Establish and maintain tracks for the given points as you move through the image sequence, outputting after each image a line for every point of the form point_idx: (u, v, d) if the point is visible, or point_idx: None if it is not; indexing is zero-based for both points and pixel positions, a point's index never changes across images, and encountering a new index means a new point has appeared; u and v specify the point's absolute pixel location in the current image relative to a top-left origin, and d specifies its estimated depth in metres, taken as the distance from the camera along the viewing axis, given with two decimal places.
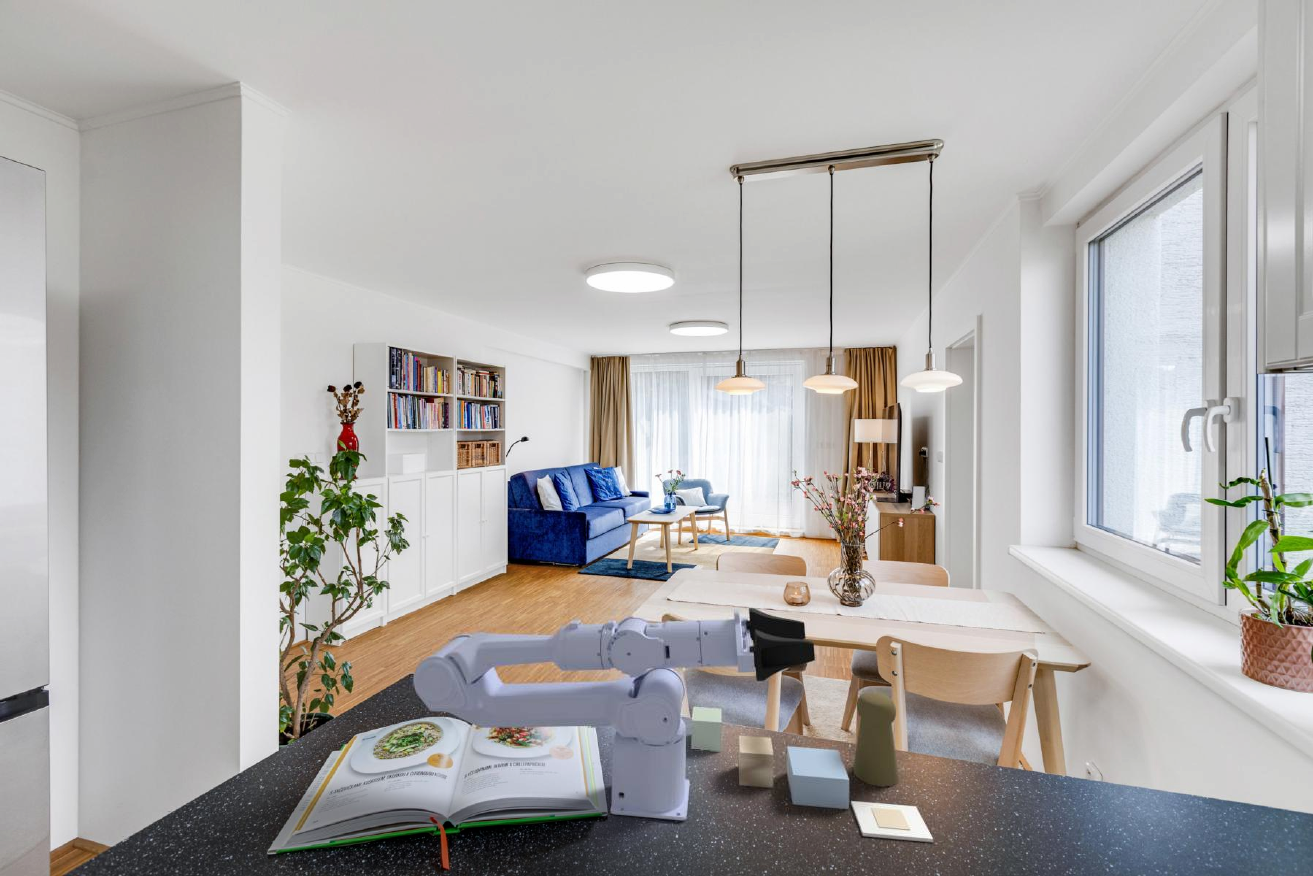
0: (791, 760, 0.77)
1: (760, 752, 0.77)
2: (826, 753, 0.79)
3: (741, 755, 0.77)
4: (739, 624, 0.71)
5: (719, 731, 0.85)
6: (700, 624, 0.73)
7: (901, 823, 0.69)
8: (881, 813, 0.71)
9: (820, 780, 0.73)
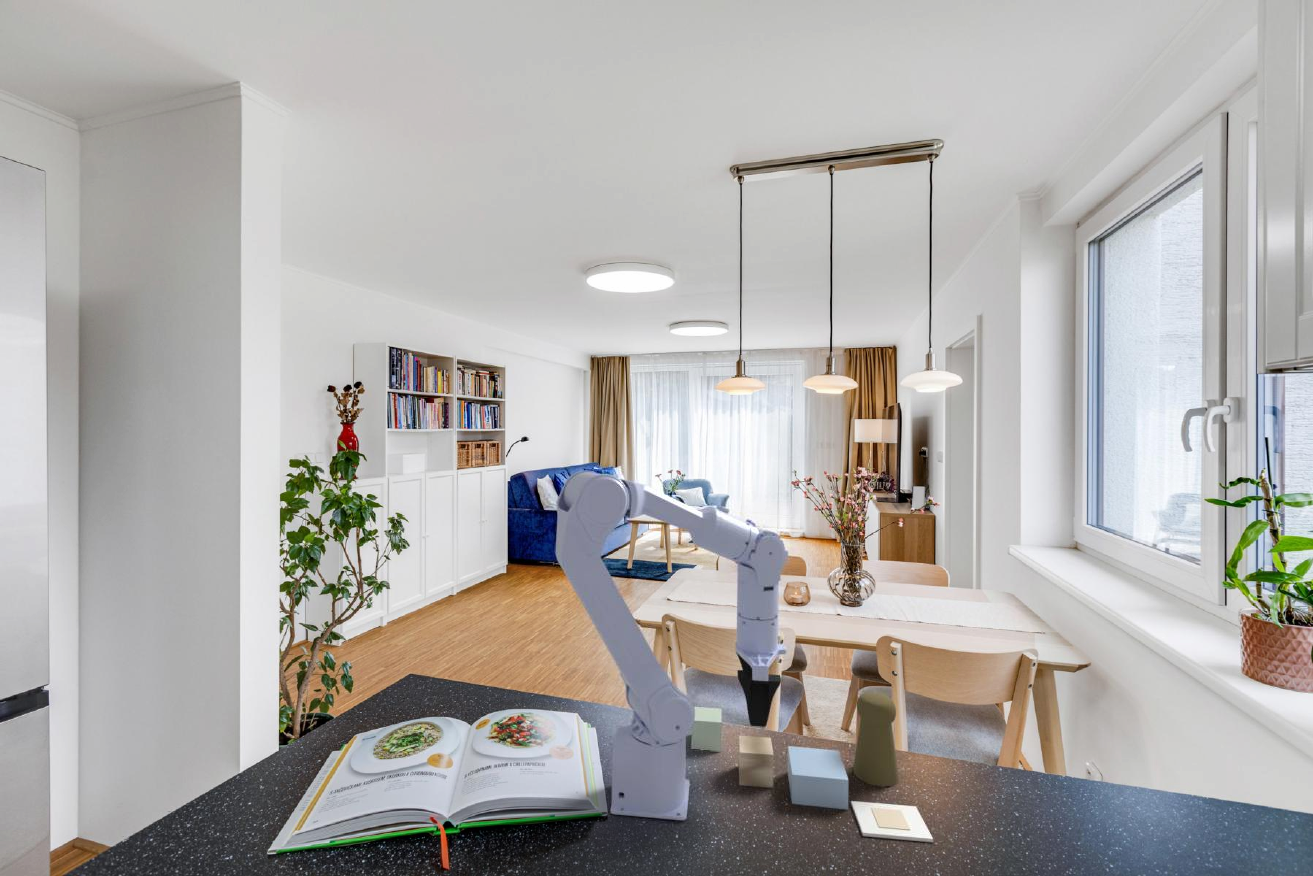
0: (791, 760, 0.77)
1: (760, 752, 0.77)
2: (827, 753, 0.78)
3: (741, 755, 0.77)
4: (777, 654, 0.78)
5: (719, 731, 0.85)
6: (777, 617, 0.78)
7: (901, 823, 0.69)
8: (881, 813, 0.71)
9: (819, 780, 0.73)
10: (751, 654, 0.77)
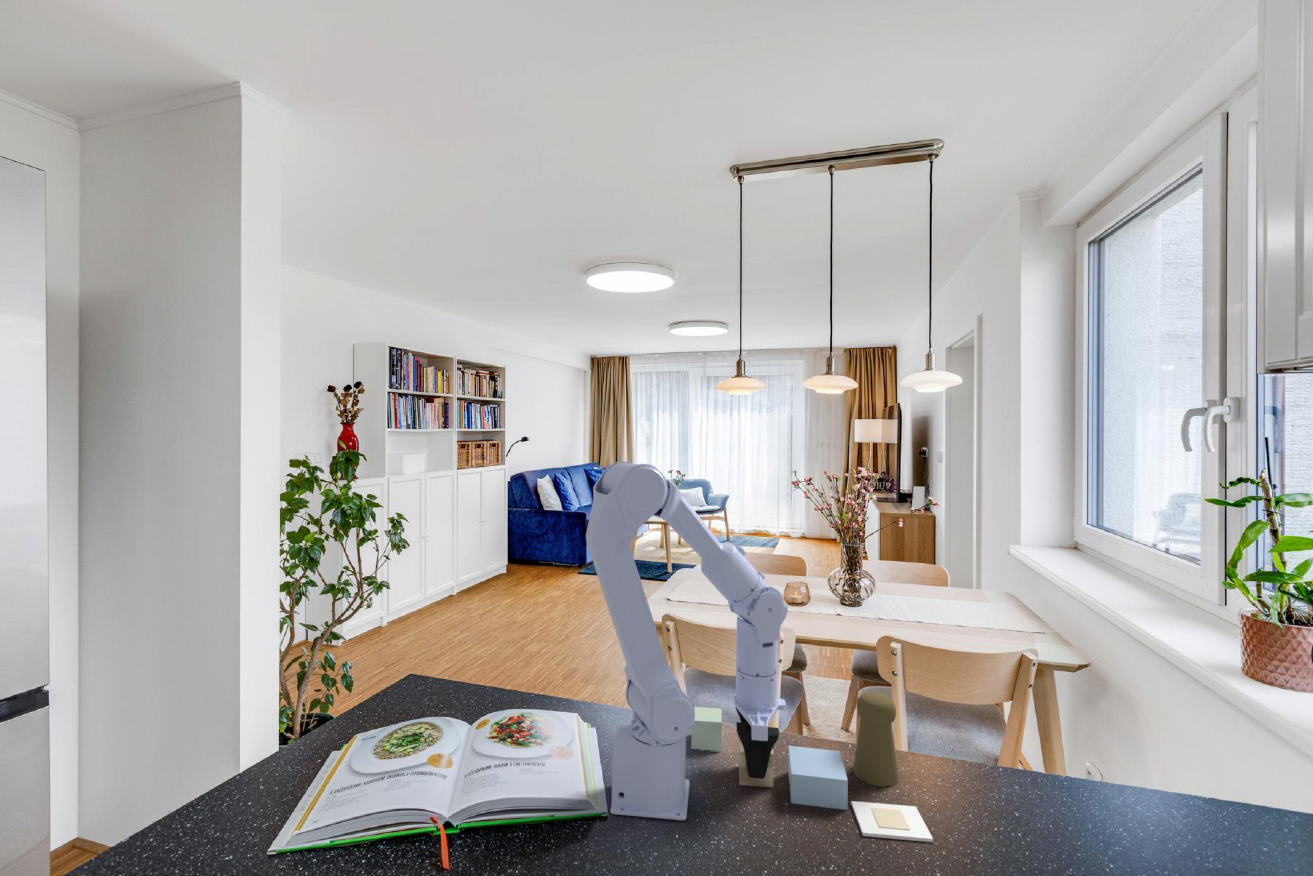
0: (791, 759, 0.77)
1: None
2: (827, 753, 0.78)
3: (741, 754, 0.77)
4: (777, 710, 0.78)
5: (719, 731, 0.85)
6: (777, 672, 0.78)
7: (901, 823, 0.69)
8: (881, 813, 0.71)
9: (818, 780, 0.73)
10: (751, 710, 0.77)
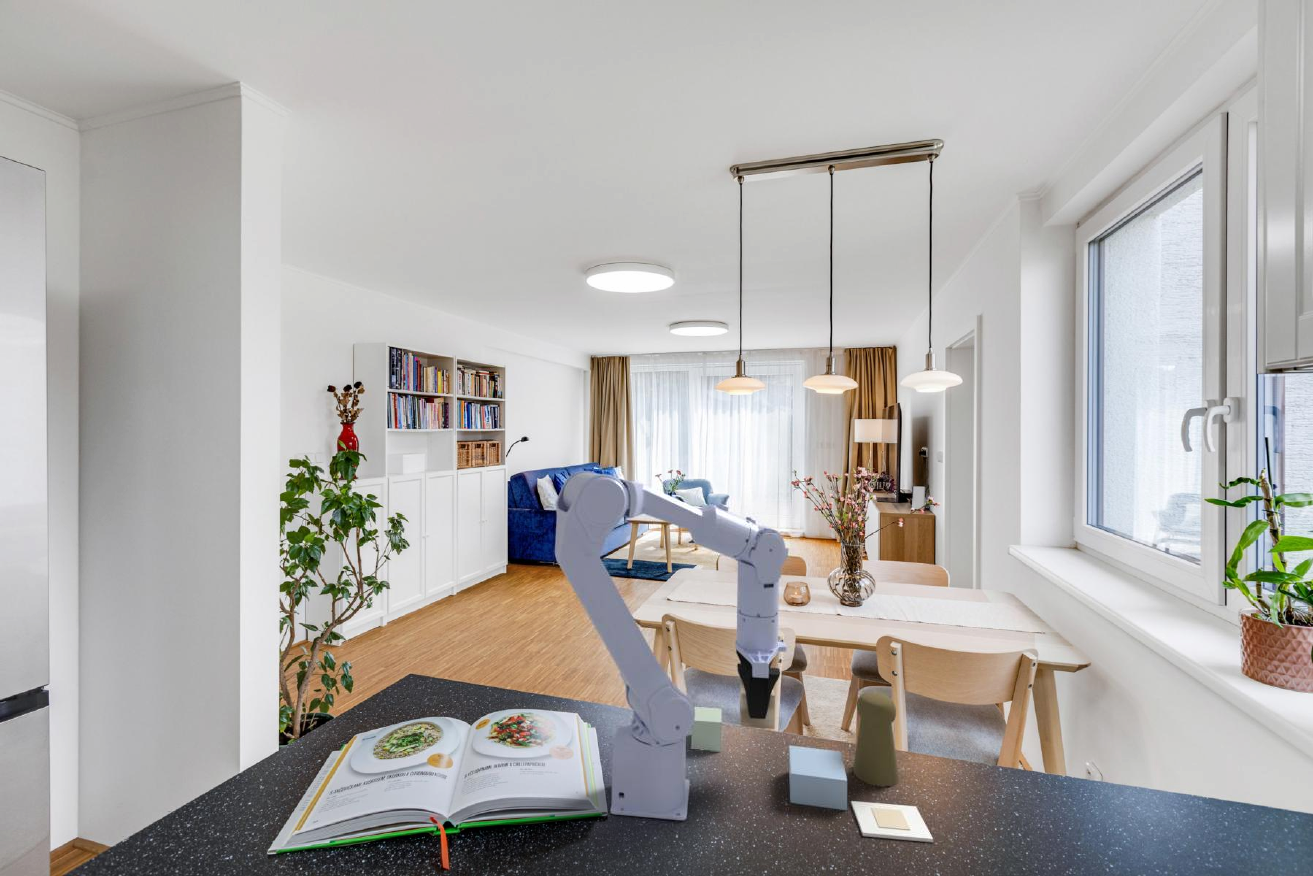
0: (791, 759, 0.77)
1: None
2: (828, 754, 0.78)
3: (742, 696, 0.77)
4: (777, 651, 0.78)
5: (719, 731, 0.85)
6: None
7: (901, 823, 0.69)
8: (881, 813, 0.71)
9: (818, 779, 0.73)
10: (751, 651, 0.77)
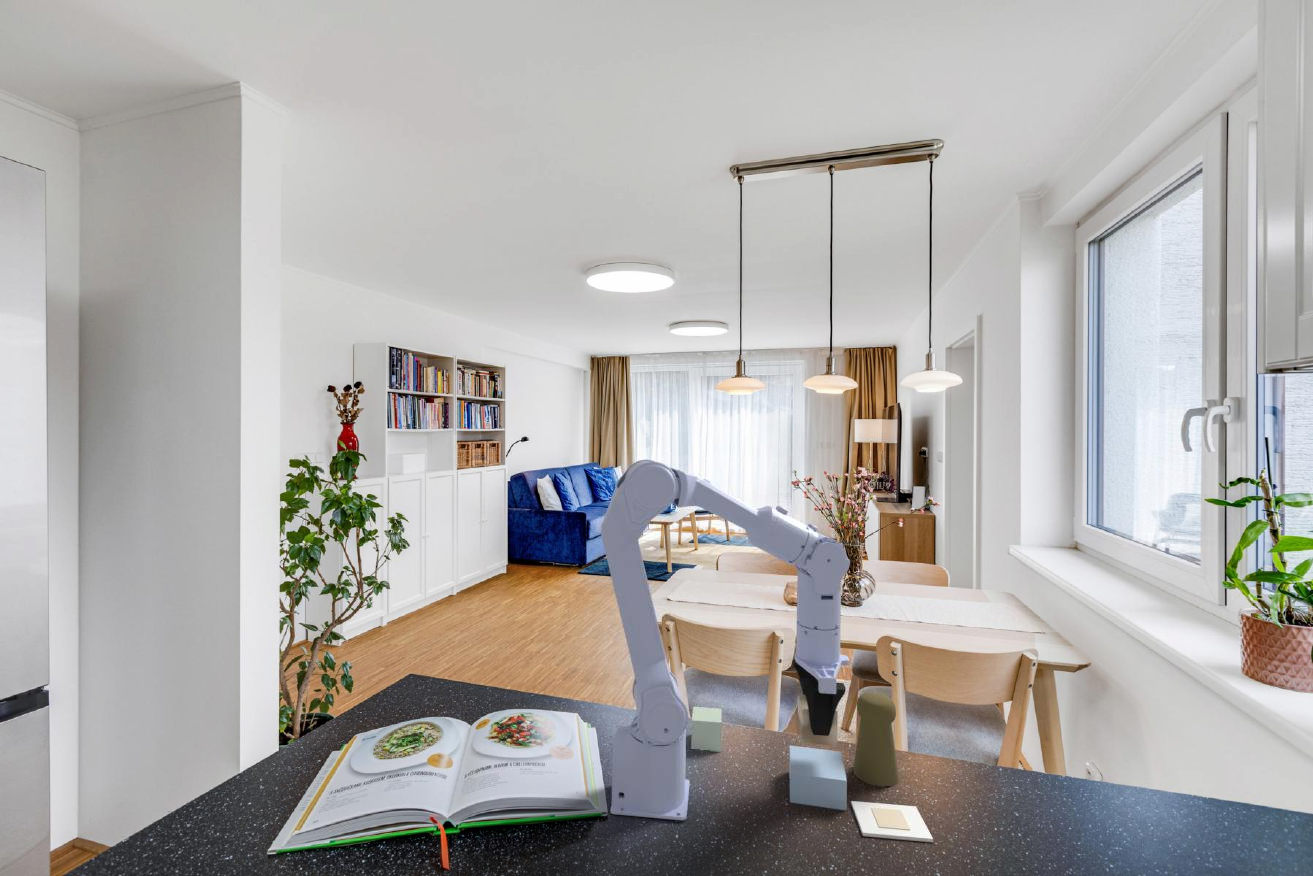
0: (791, 759, 0.77)
1: None
2: (828, 754, 0.78)
3: (803, 712, 0.74)
4: (841, 665, 0.75)
5: (719, 731, 0.85)
6: None
7: (901, 823, 0.69)
8: (881, 813, 0.71)
9: (817, 779, 0.73)
10: (814, 665, 0.74)
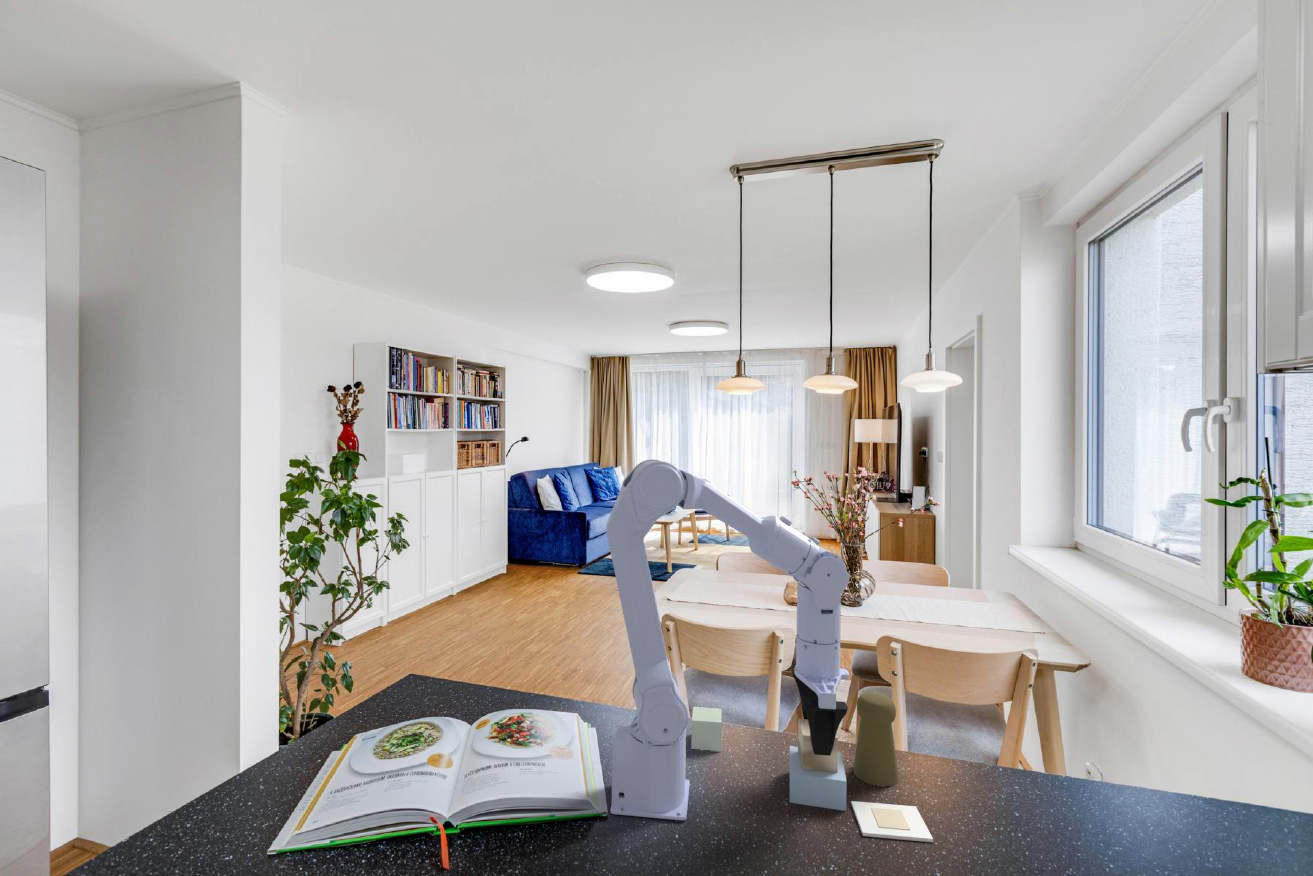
0: (791, 759, 0.77)
1: None
2: None
3: (804, 738, 0.74)
4: (840, 679, 0.75)
5: (719, 731, 0.85)
6: None
7: (901, 823, 0.69)
8: (881, 813, 0.71)
9: (817, 780, 0.73)
10: (814, 679, 0.74)
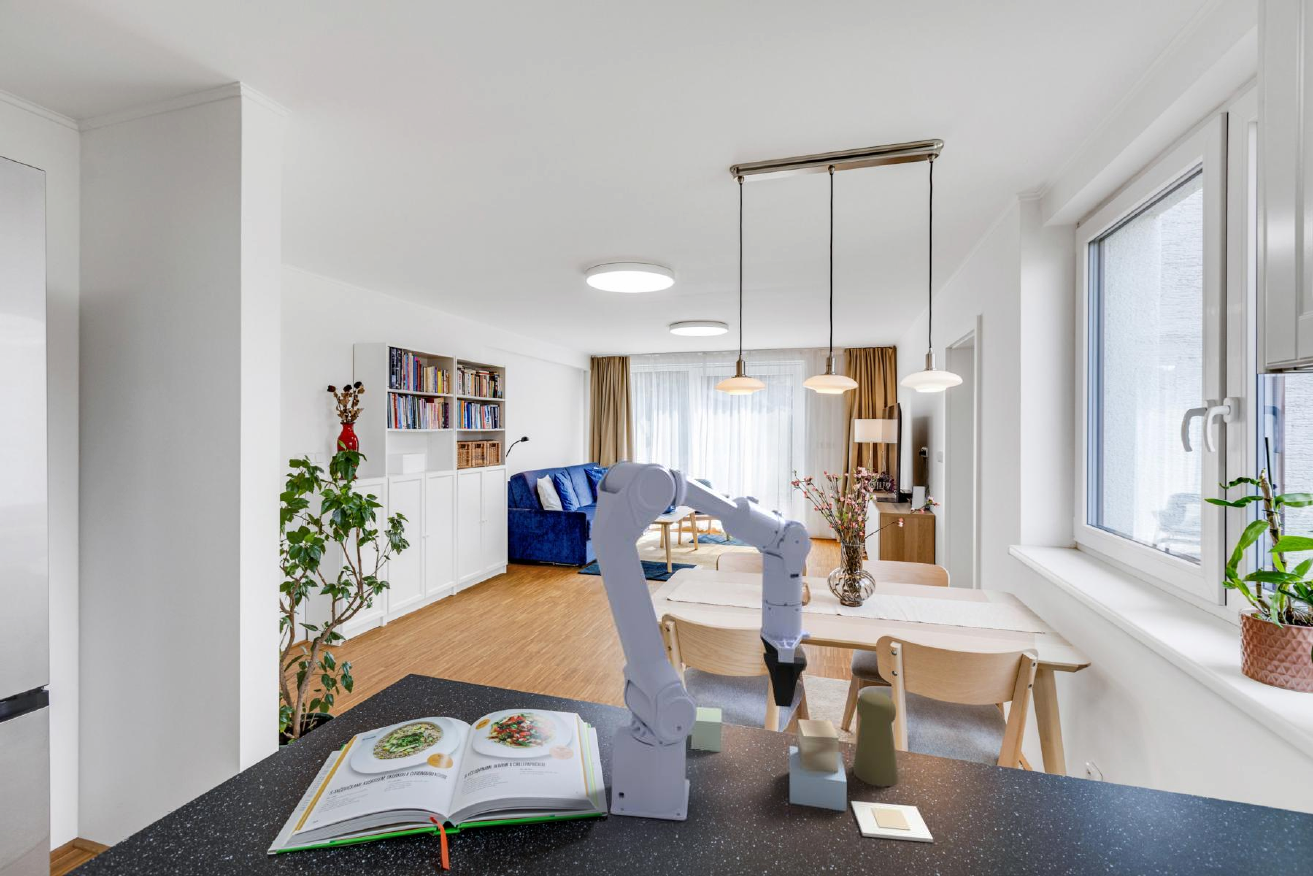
0: (791, 759, 0.77)
1: (824, 735, 0.75)
2: None
3: (805, 739, 0.74)
4: (801, 639, 0.81)
5: (719, 731, 0.85)
6: (801, 603, 0.82)
7: (901, 823, 0.69)
8: (881, 813, 0.71)
9: (817, 780, 0.73)
10: (777, 638, 0.81)
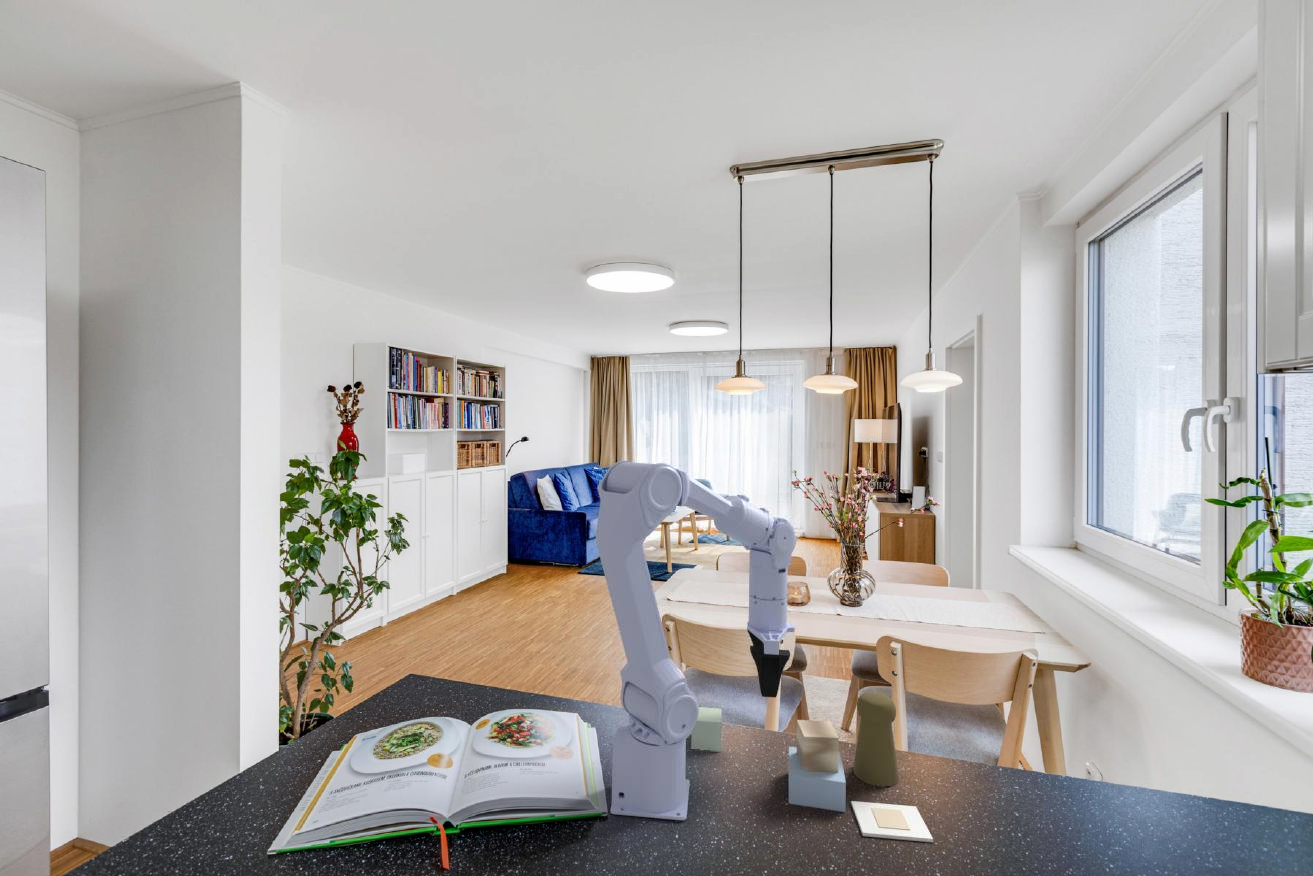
0: (790, 760, 0.77)
1: (824, 736, 0.74)
2: None
3: (805, 739, 0.74)
4: (786, 632, 0.84)
5: (719, 731, 0.85)
6: (786, 597, 0.85)
7: (901, 823, 0.69)
8: (881, 813, 0.71)
9: (816, 781, 0.73)
10: (763, 631, 0.83)
